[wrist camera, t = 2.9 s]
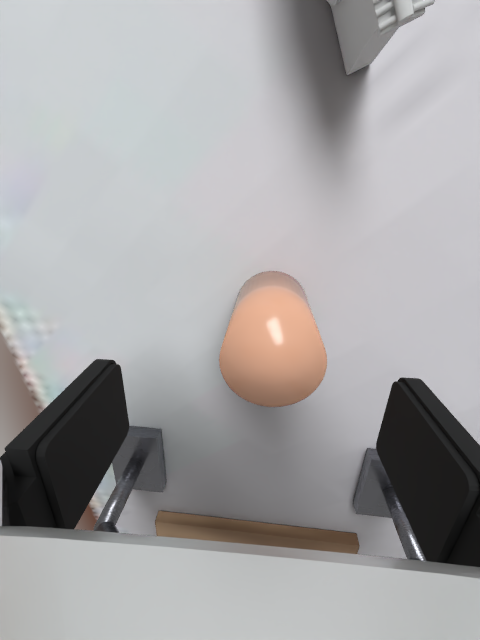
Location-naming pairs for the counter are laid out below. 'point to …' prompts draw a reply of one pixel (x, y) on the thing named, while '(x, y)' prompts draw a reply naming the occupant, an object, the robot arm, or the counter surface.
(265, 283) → the peach domed cylinder
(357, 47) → the garden wall model
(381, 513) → the grey cabinet handle
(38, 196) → the counter surface
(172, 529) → the walnut board
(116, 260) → the counter surface
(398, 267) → the counter surface
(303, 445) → the counter surface
